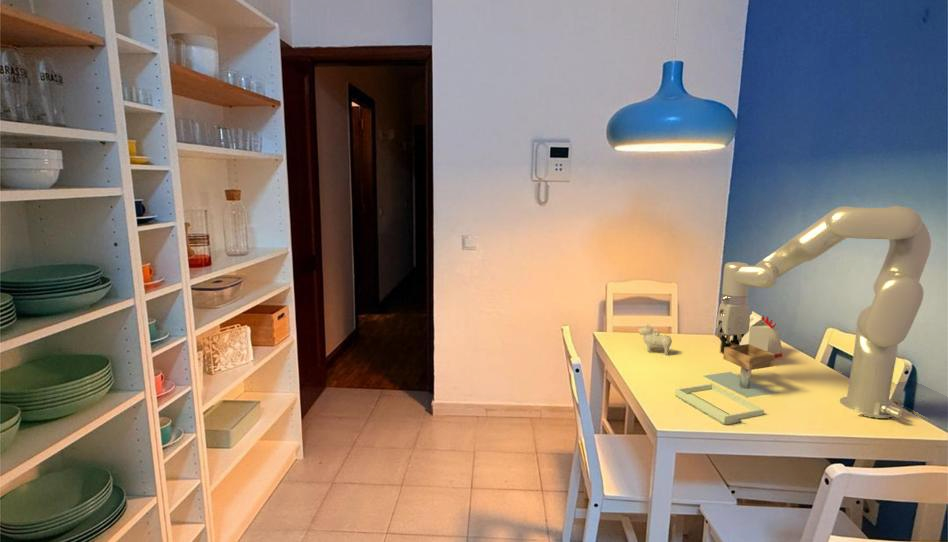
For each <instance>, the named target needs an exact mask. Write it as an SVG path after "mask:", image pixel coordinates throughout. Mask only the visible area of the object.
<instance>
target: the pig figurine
mask: <svg viewBox="0 0 948 542" xmlns="http://www.w3.org/2000/svg"><path fill="white" fill-rule="evenodd" d="M637 330H638V333H639V334H640V335H641V336H643V337H642V339H643V341H644V343H645V344H646V346H647V350H646V351H647V352H651V350H652V348H653V346H654V347H656V348H657V347H658V348H662V349H664V352H663V356H664V355H668V353H670V348H671V345H672V342H673V341H672V337H671V336H670V335H667V334H664V335H661V334H660V332H661V331H660V330H659V329H653V328H652V326H650V324H646V325H644V326H643V327H639V328H637ZM650 349H651V350H650ZM647 352H646V353H647Z"/></svg>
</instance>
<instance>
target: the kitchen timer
mask: <svg viewBox="0 0 948 542" xmlns="http://www.w3.org/2000/svg"><path fill="white" fill-rule="evenodd" d="M762 320H763V321H764V322H765V323H766V324H767V325H768V326H769V327H770V335H769V343H768V352H770V353H772V354H775V357H774V359H779V358H781V357H782V354H783V348H782V347H783V346H782V341H781V338H780V335H779V333H778V332H777V331H776V330H775V327H776V325H777V323H775V324H772V323H773V319H771V320H770V321H769V316H766V318H765V316H764V315H762ZM778 357H779V358H778Z"/></svg>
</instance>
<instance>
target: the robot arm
mask: <svg viewBox="0 0 948 542" xmlns="http://www.w3.org/2000/svg"><path fill="white" fill-rule="evenodd" d="M846 239H860V240H861V239H862V240H864V239H865V240H866V239H867V240H888V243H889V246H888V251H887V253H886V256H885V260H884V261H883V264H882V266H881V268H880V271H879V274H878V275H877V278H876V280H875V281H874V284H873V291H874V294H875V295H874V298H873V300H872V302H871V304H870V306H867V307H865V308H864V309H863V310H862V311H860V313H859V315H858V317H857V319H856V328H855V329H856V331H855V332H856V333H855V340H854V349H853V355H852V362H851V368H850V374H849V382H848V389H847V393H846V396H843V397H841V398H840V399H839V402H840V404H841V405H842V406H844V407H845V408H847V409H849V410H852V411H854V412H857V413H859V416H862V415H864V417H866V416H868V417H867V418H871V417H875V418H874V419H878V418H888V419H890V418H889V417H892V416H893V417H895V418H897V419H901V417H902V416H903V409H902V408H899V407H895V406H894V400H892V399H890V394H891V391H892V383H893V378H894V373H895V365H896V361H897V355H898V346H899V344H901V343H902V342H903V341H904V340H905V339H906V338H907V336H908V334H909V332H910V330H911V329H912V327H913V324H914V322H915V319H916V316H917V314H918V312H919V310H920V308H921V306H922V302H923V299H924V293H925V292H924V288H923V286H922V284H921V283H920V280H921V278H922V275H923V272H924V270H925V266H926V264H927V262H928V259H929V256H930V252H931V247H932V240H931V235H930V232H929V229H928V228H927V226H926V224H925V222H924V221H923V219H922V217H921V216H920V213H918V212H917V211H916V210H915V209H912V208H910V207H906V206H901V205H892V206H889V207H853V206H847V205H845V206H839V207H836V208H834V209H833V210H830V212H828V213H827V214H825V215H824V216H823V217H820V219H818V220H817V221H815V222H814V223H812V224H810V226H808V227H806V229H803V231H801V232H800V233H798V234H797V235H795V236H794V237H793V238H791V239H790V240H788V241H787V242H786V243H785V244H783V245H782V246H780V247H779V248H778V249H776V250H774V251H773V252H771V253H770V254H769V255H767V256H766V257H765V258H763V259H762V260H760V261H759V262H757V263H756V264H755V265H750V264H748V263H746V262H741V261H728V262H726V263H725V264H724V267H723V277H722V290H721V298H720V302H721V303H720V304H719V307H718V311H717V317H716V324H715V326H716V327H715V328H716V330H715V332H714V336H715V337H717V338H718V339H719V341H720V342H721V341H722V346H721V353H720V354H722V353H724V347H731V344H730V343H729V342H733V343H735V344H738V345H739V344H740V342H741V340H742V337H743V336H744V335H745V334H747V333H748V332H749V328H750V315H751V311H750V305H749V303H748V298H749V289H750V287H751V288H756V289H761V290H765V289H771V288H772V287H773V286H775V284H776V283H777V280H778V279H779V278H780V277H782V276H783V275H785V274H786V273H788V272H789V271H791V270H792V269H794V268H795V267H797V266H799V265H802V264H805V263H806V262H811V261H813V260H815V259H816V258H818V257H820V256H821V255H823V254H824V253H826V252H827V251H829V250H830V249H832V248H833V247H835V246H836V245H838V244H839V243H841V242H843V241H844V240H846ZM893 417H892V418H893Z"/></svg>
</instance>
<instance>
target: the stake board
mask: <svg viewBox="0 0 948 542" xmlns="http://www.w3.org/2000/svg"><path fill="white" fill-rule="evenodd" d="M703 377H704V378H707V379H708V380H710V381H712V382H714V383H716V384H718V385H720V386H722V387H724V388H727V390H731V391H732V392H735V393H737V394H738V395H741V396H743V397H745V398H753V397H759V396H765V395H770V394H775V393H777V392H775V391H773V390H771V389H769V388H767V387H765V386H762V385H760V384H758V383H756V382H754V381H751V380H750V388H749V389H744V388H741V387H739V382H740V375H738V374H735V373H733V372H732V371H726V372H719V373H713V374H712V373H711V374H704V375H703Z"/></svg>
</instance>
